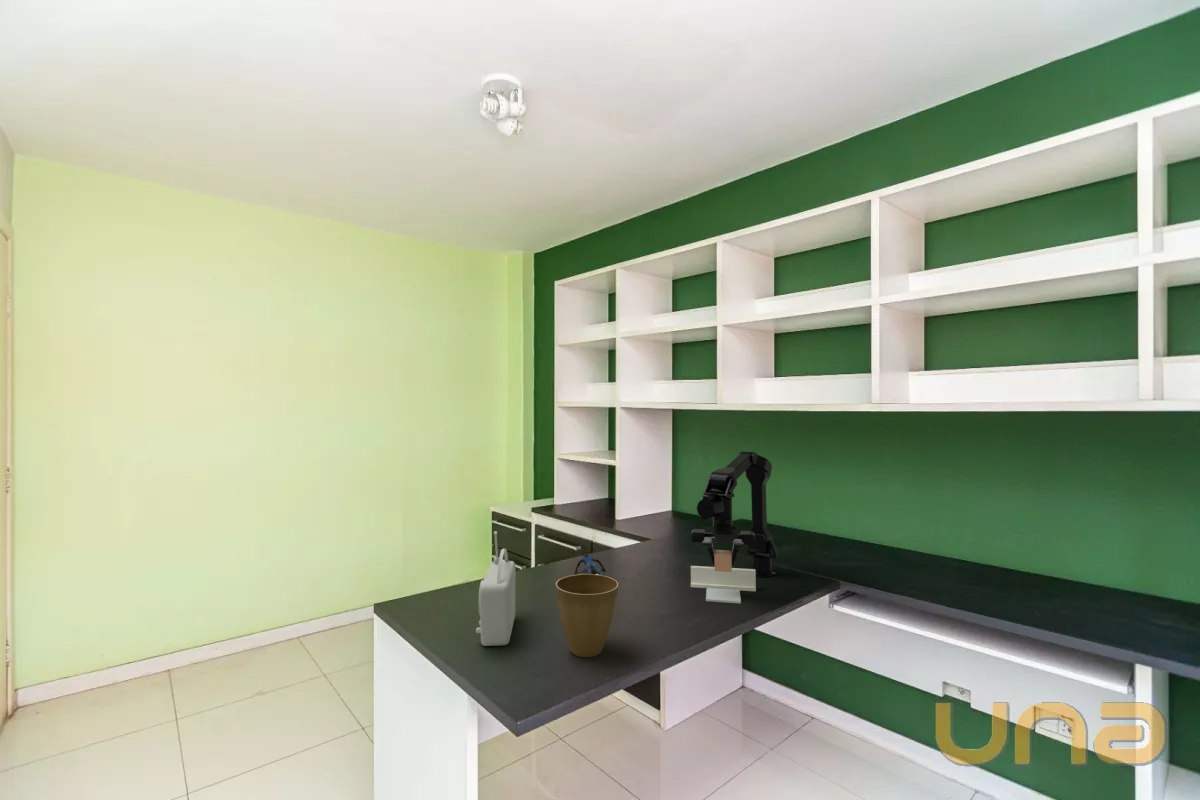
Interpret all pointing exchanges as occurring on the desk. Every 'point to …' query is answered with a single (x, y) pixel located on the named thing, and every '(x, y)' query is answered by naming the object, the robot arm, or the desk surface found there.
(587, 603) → the plant pot
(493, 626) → the radio
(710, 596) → the pad
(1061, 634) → the desk surface
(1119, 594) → the desk surface
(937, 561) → the desk surface
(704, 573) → the off-white ledge rack
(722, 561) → the plain cardboard-brown cube
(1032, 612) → the desk surface
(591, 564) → the person figurine
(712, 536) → the robot arm
